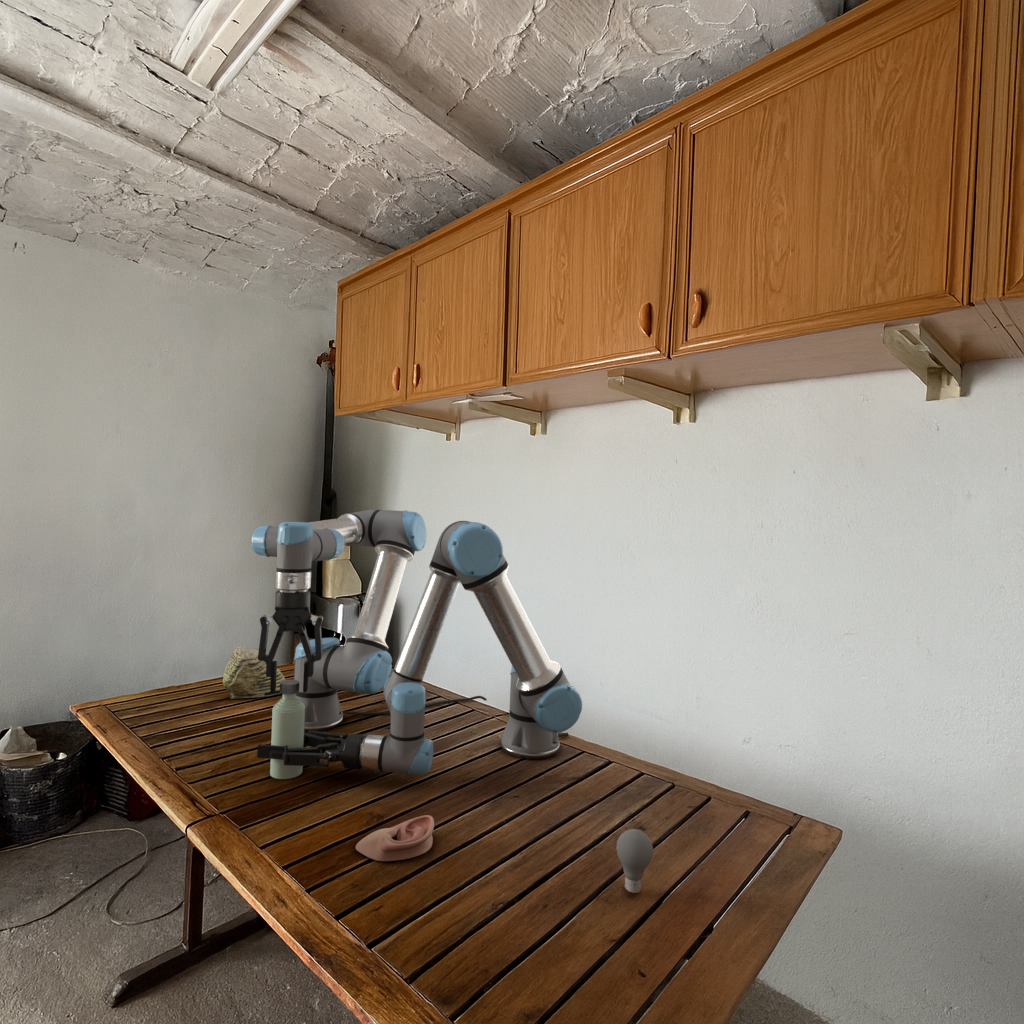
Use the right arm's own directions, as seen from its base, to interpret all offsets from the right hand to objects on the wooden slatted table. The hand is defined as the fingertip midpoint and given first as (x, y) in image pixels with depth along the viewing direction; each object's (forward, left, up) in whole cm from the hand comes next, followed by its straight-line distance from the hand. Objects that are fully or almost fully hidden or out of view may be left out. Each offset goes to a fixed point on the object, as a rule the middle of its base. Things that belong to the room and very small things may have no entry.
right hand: (266, 744), depth 145 cm
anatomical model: (-23, +39, -6) cm, 46 cm away
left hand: (-5, +2, +13) cm, 14 cm away
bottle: (-4, +2, -6) cm, 8 cm away
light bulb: (-58, +63, -6) cm, 86 cm away
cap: (-4, +2, +14) cm, 15 cm away
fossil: (+4, -58, -6) cm, 59 cm away
